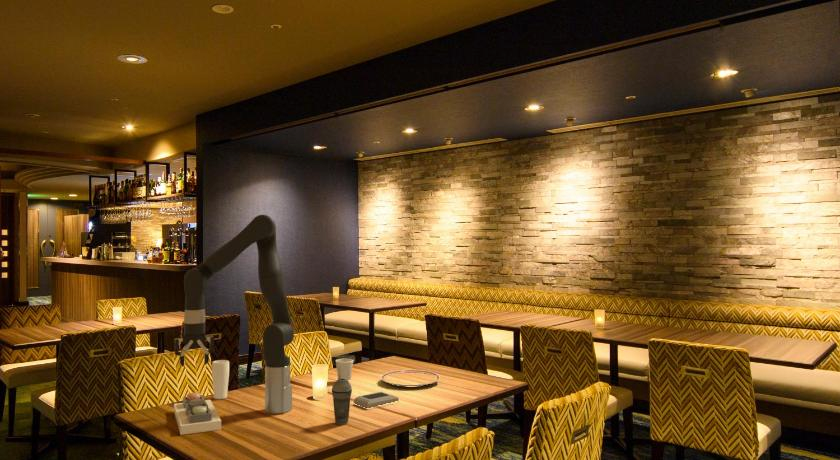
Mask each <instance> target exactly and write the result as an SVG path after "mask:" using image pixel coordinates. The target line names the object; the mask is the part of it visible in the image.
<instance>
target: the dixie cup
mask: <svg viewBox="0 0 840 460" xmlns="http://www.w3.org/2000/svg"><path fill="white" fill-rule="evenodd" d="M354 361H355V360H354V359H352V358H338V359H335V366H336V374H337V380H338V379H340V377H339V366H340V371H341V379H346V380H350V379H351V380H352V375H353V367H354V366H353V365H354Z"/></svg>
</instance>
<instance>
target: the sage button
mask: <svg viewBox="0 0 840 460" xmlns="http://www.w3.org/2000/svg"><path fill="white" fill-rule="evenodd" d="M205 413H207V407H206V406H196V407H193V415H197V414H205Z"/></svg>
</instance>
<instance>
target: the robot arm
mask: <svg viewBox="0 0 840 460" xmlns="http://www.w3.org/2000/svg"><path fill="white" fill-rule="evenodd" d="M276 226H277V225H276V223H275V220H274V219H273V218H272V217H270V216H269V215H266V214H259V215H256V216H255V217H253V219H252V220H251V221H250V222H249V223H248V224H247V225H246V226H245V227H244V228H243V229H242V230H241V231H240V232H239V233H237V235H235V236H234V237H233V238H232V239H230V240H229V241H227V242H226V243H224V244H223V245H221V246H220V247H219V248H217V250H215V251H213V252H212V253H211V254H210V255H208V256H207V257H206V258H205V259H204V260H203V261H202V262H201V263H199V264H197V265H196V266H195V267H193V268H192V269H189V270H187V271H186V273H185V274H184V277H183V286H184V287H183V289H184V295H185V297H184V298H185V299H184V314H183V337H182V338H178V337H176V338H174V355H175V356H179V364H180V366H181V367H185V354H186V352H188V351H189V349H190V350H194V349H200V348H201V349H202V351H203V352H204V354H203V355H204V356H203V357H204V361H203V364H204V365H207V364H208V363H209V361H210V354H211V353H214V351H215V337H214V336H213V335H210V336H206V308H205V307H206V306H205V305H206V304H205V295H204V284H205V283H206V282H208V280H209V279H211V278H212V277H213V276H214V275H215V274H217V273H219V272H221V271H222V270H223V269H224V268H226V267H227V266H228V265H230V264H231V263H233V261H235V260H236V259H237V258H238V257H239V256H240V255H241V254H242V253H243V252H244V251H245V250H246V249H247V248H249V247H251V245H254V244H255V243H256V247H257V254H258V255H257V256H258V260H257V273H258V282H259V289H260V293H261V295H262V296H263V299H264V301H265V302H266V303H267V305H268V307H269V309H270V312H271V314H272V315H271V316H272V322H273V323H272V324H269V325H267V326H266V327H265V328H264V329H263V333H262V353H263V355H262V356H263V360H264V362H265V369H264V370H265V371H264V373H265V375H264V379H265V380H264V384H265V385H264V386H265V387H264V412H265V413H267V414H276V415H277V414H285V413H288V412H289V411H291V410H293V384H292V383H291V359H290V357H289V355H286V352H285V351H286V350H285V347H286V346H288V345H290V344H291V343H292V342H293V340H294V336H295V333H294V332H295V331H294V326H293V322H292V321H293V320H292V319H291V314H290V311H289V306H288V300H287V293H286V287H285V279H284V274H283V268H282V264H281V260H280V256H279V253H278V248H277V227H276ZM206 341H208V343H209V349H207V347H206V346H205V345H204V344H205V342H206ZM181 342H183V344H184V346H183V348H182V349H181V351H180V350H179V348H180V347H179V346H180V345H181V344H182V343H181Z"/></svg>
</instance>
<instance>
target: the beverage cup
mask: <svg viewBox="0 0 840 460" xmlns="http://www.w3.org/2000/svg"><path fill="white" fill-rule="evenodd" d="M339 377H340V379H338V378H337V380H336V381H334V382H333V384H332V387H331V394H332V401H333V411H334V412H333V415H334V423H336V424H335V425H337V424H345V425H347V424H346V423H348V424H349V417H350V408H351V396H352V393H353V392H352V391H353V389H352V384H351V382H350V383H349V381H348V380H346V379H341V371H340V366H339Z"/></svg>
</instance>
